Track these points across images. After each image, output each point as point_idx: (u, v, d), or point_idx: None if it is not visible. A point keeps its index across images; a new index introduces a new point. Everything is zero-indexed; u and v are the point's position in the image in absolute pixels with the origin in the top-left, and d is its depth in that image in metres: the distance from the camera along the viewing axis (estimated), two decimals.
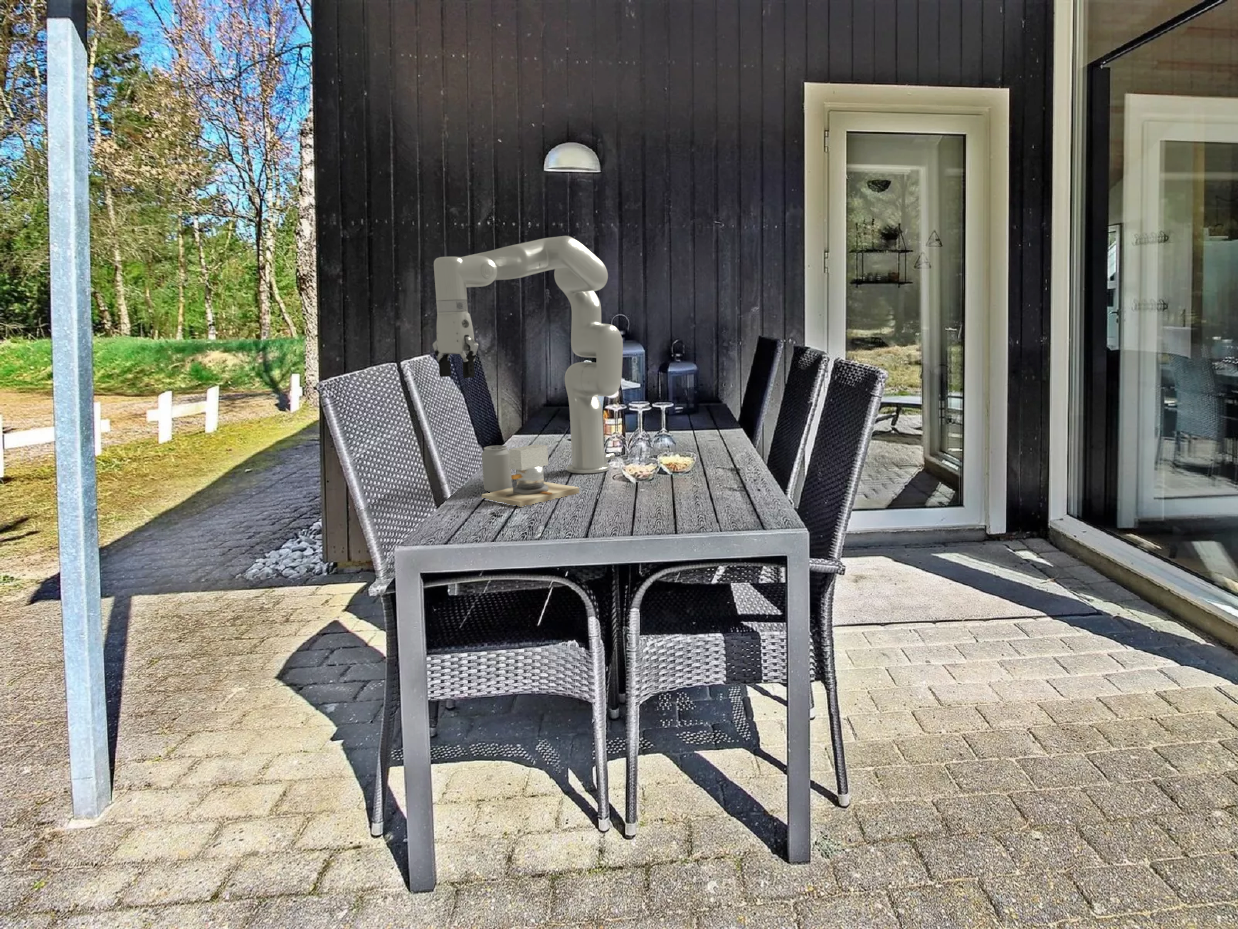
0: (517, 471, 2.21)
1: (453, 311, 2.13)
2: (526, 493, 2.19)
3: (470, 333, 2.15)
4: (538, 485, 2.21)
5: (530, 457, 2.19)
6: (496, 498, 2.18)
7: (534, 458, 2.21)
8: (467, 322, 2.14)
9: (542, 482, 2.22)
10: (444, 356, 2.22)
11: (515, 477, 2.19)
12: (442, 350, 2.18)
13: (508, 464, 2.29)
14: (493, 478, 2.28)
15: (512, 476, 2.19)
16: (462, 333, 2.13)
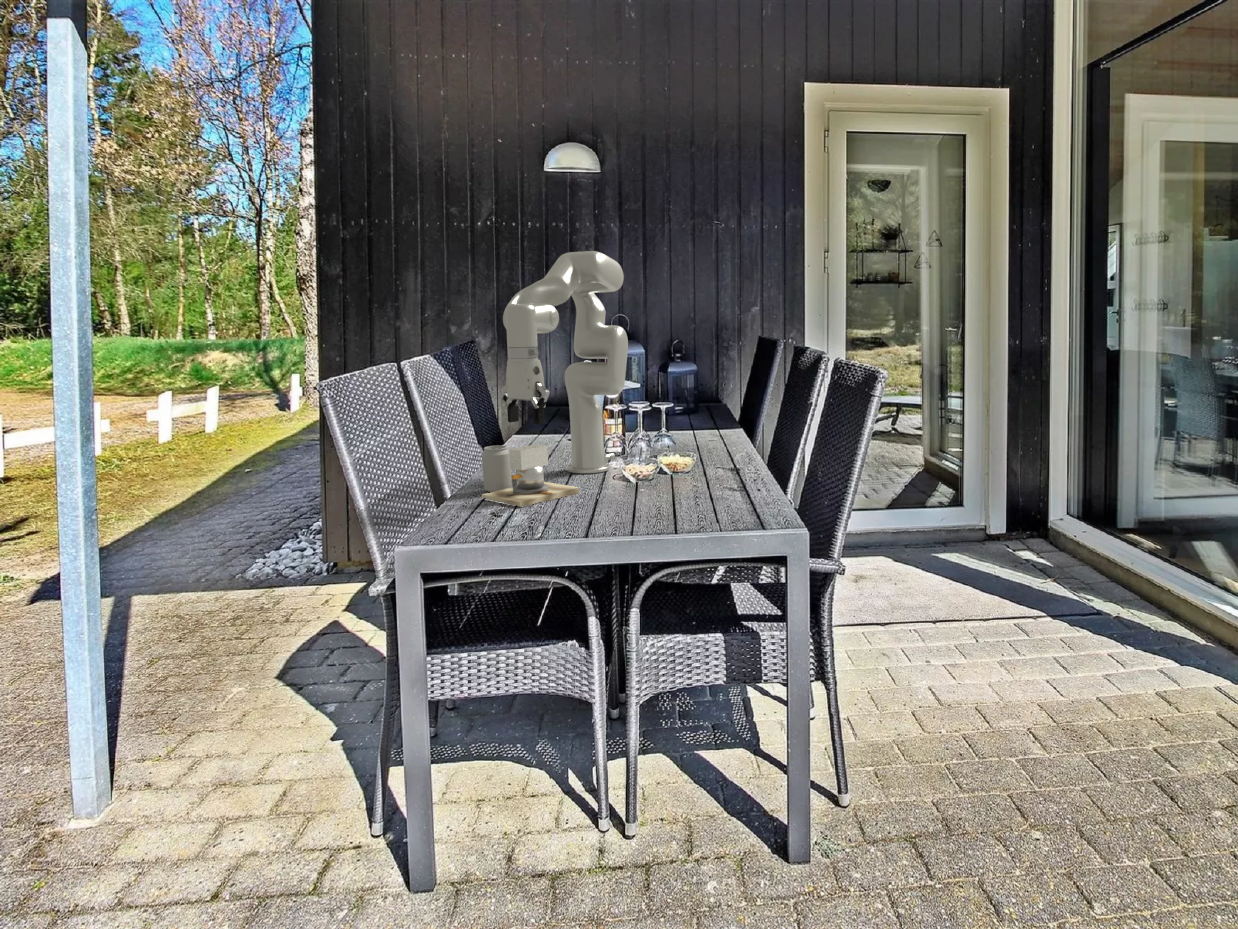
0: (517, 471, 2.21)
1: (525, 358, 2.14)
2: (526, 493, 2.19)
3: (541, 380, 2.16)
4: (538, 485, 2.21)
5: (530, 457, 2.19)
6: (496, 498, 2.18)
7: (534, 458, 2.21)
8: (538, 369, 2.16)
9: (542, 482, 2.22)
10: (512, 401, 2.23)
11: (515, 477, 2.19)
12: (512, 396, 2.19)
13: (508, 464, 2.29)
14: (493, 478, 2.28)
15: (512, 476, 2.19)
16: (533, 380, 2.14)
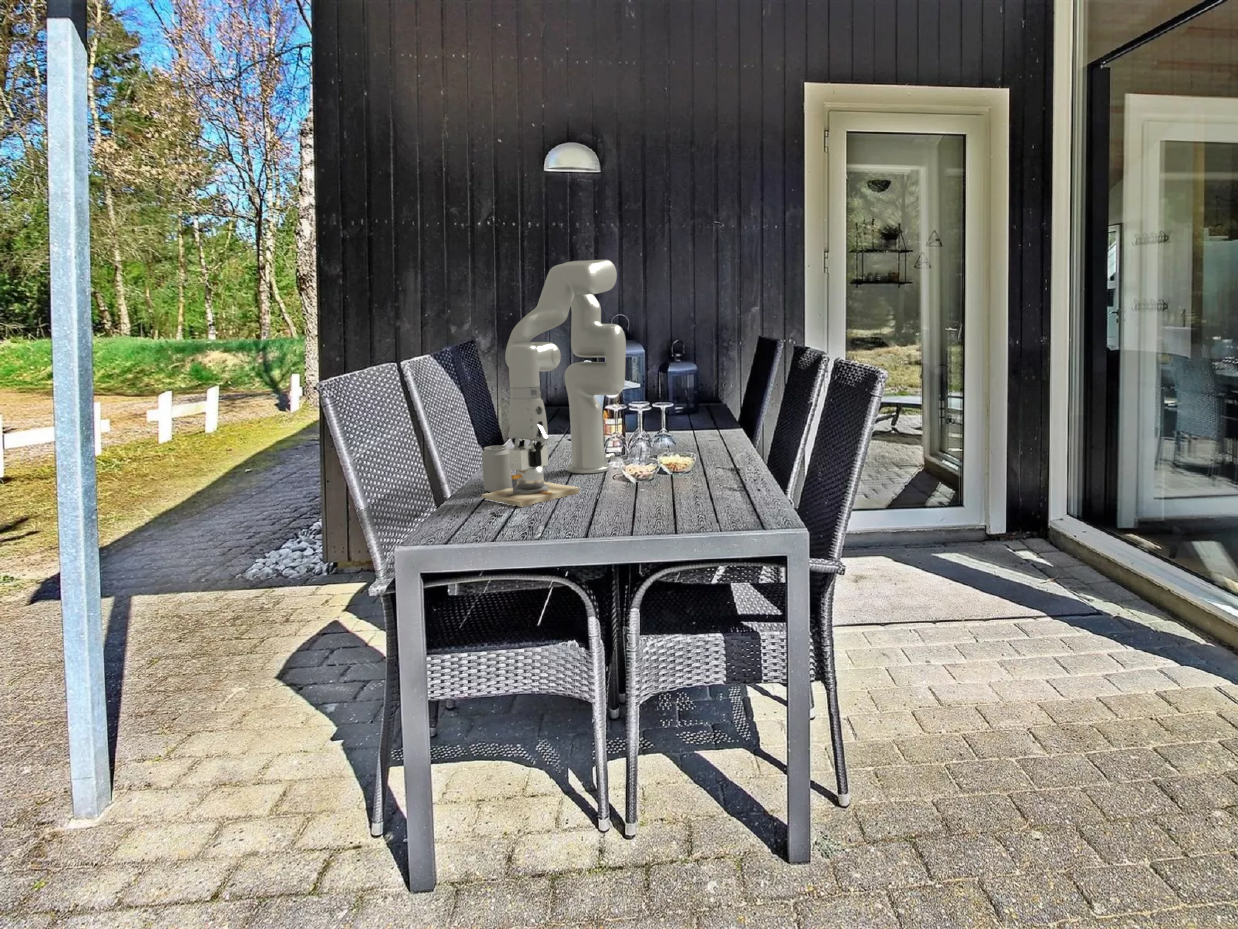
0: (517, 471, 2.21)
1: (527, 398, 2.16)
2: (526, 493, 2.19)
3: (543, 419, 2.18)
4: (538, 485, 2.21)
5: None
6: (496, 498, 2.18)
7: None
8: (540, 408, 2.18)
9: (542, 482, 2.22)
10: (521, 444, 2.24)
11: (515, 477, 2.19)
12: (515, 435, 2.21)
13: (508, 464, 2.29)
14: (493, 478, 2.28)
15: (512, 476, 2.19)
16: (536, 420, 2.16)
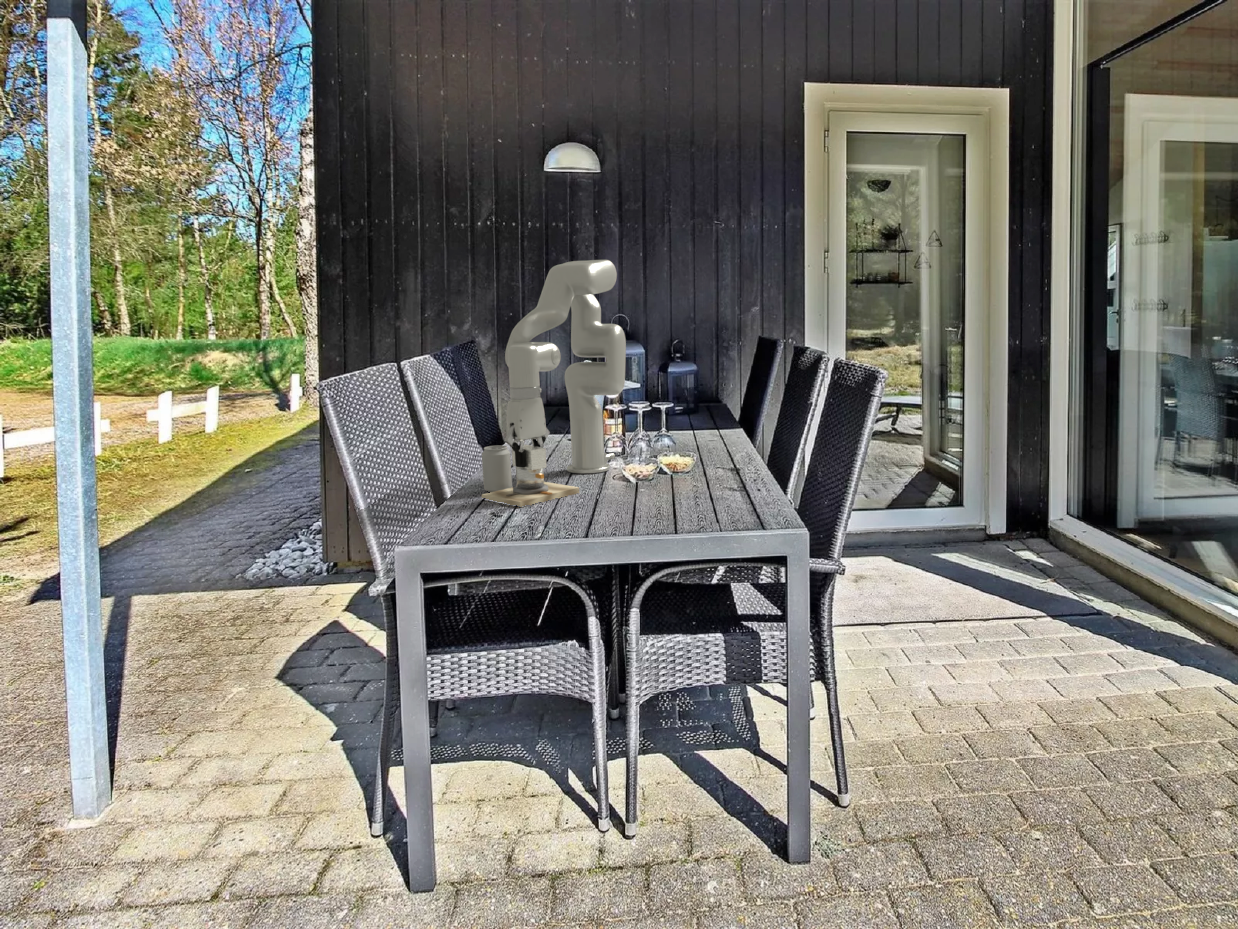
0: (534, 471, 2.20)
1: None
2: (526, 493, 2.19)
3: None
4: None
5: None
6: (496, 498, 2.18)
7: None
8: None
9: None
10: None
11: None
12: (526, 436, 2.18)
13: (508, 464, 2.29)
14: (493, 478, 2.28)
15: (542, 475, 2.18)
16: None
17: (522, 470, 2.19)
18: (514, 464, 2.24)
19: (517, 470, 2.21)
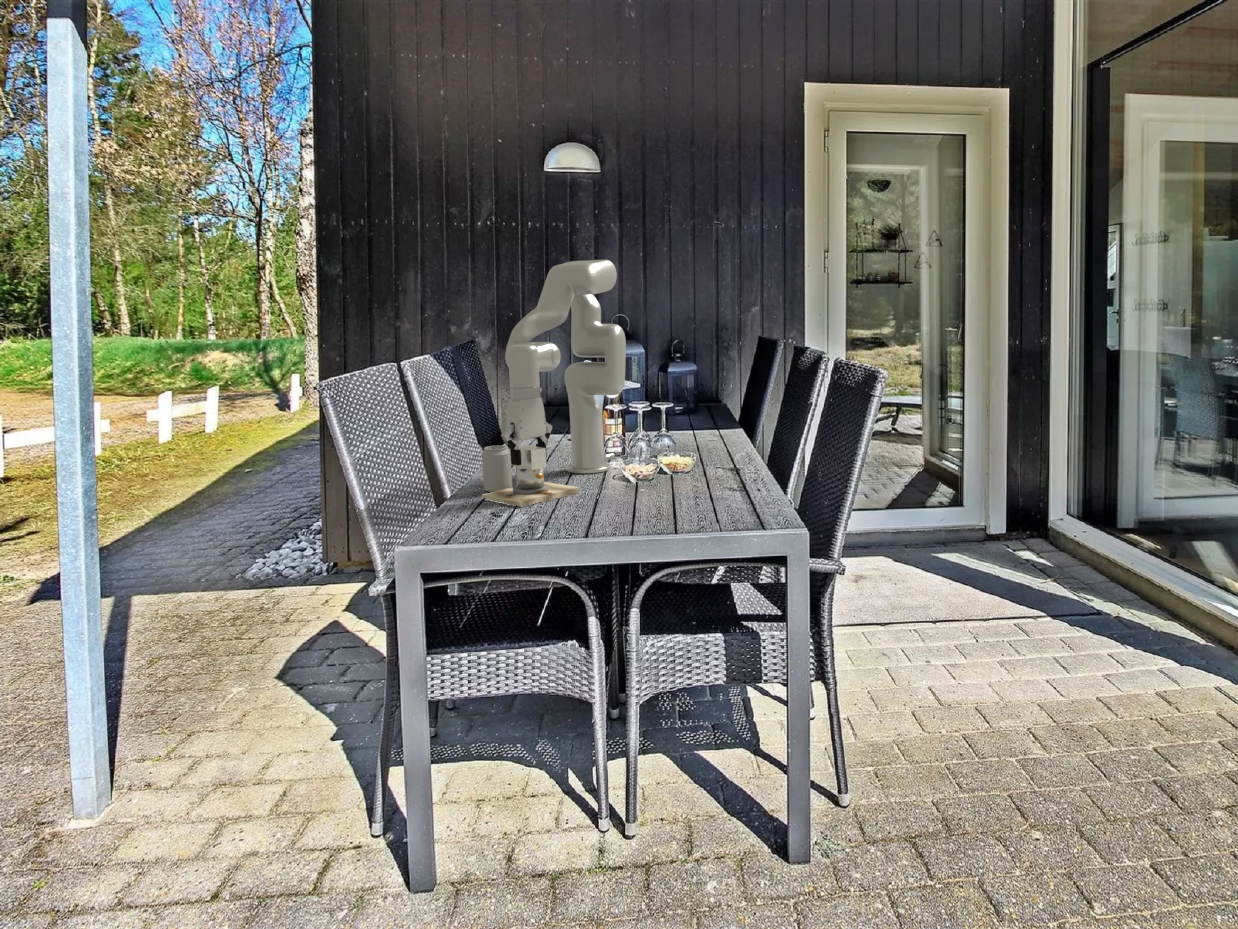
0: (534, 471, 2.20)
1: None
2: (526, 493, 2.19)
3: None
4: None
5: None
6: (496, 498, 2.18)
7: None
8: None
9: None
10: None
11: None
12: (526, 436, 2.18)
13: (508, 464, 2.29)
14: (493, 478, 2.28)
15: (542, 475, 2.18)
16: None
17: (522, 470, 2.19)
18: None
19: (517, 470, 2.21)
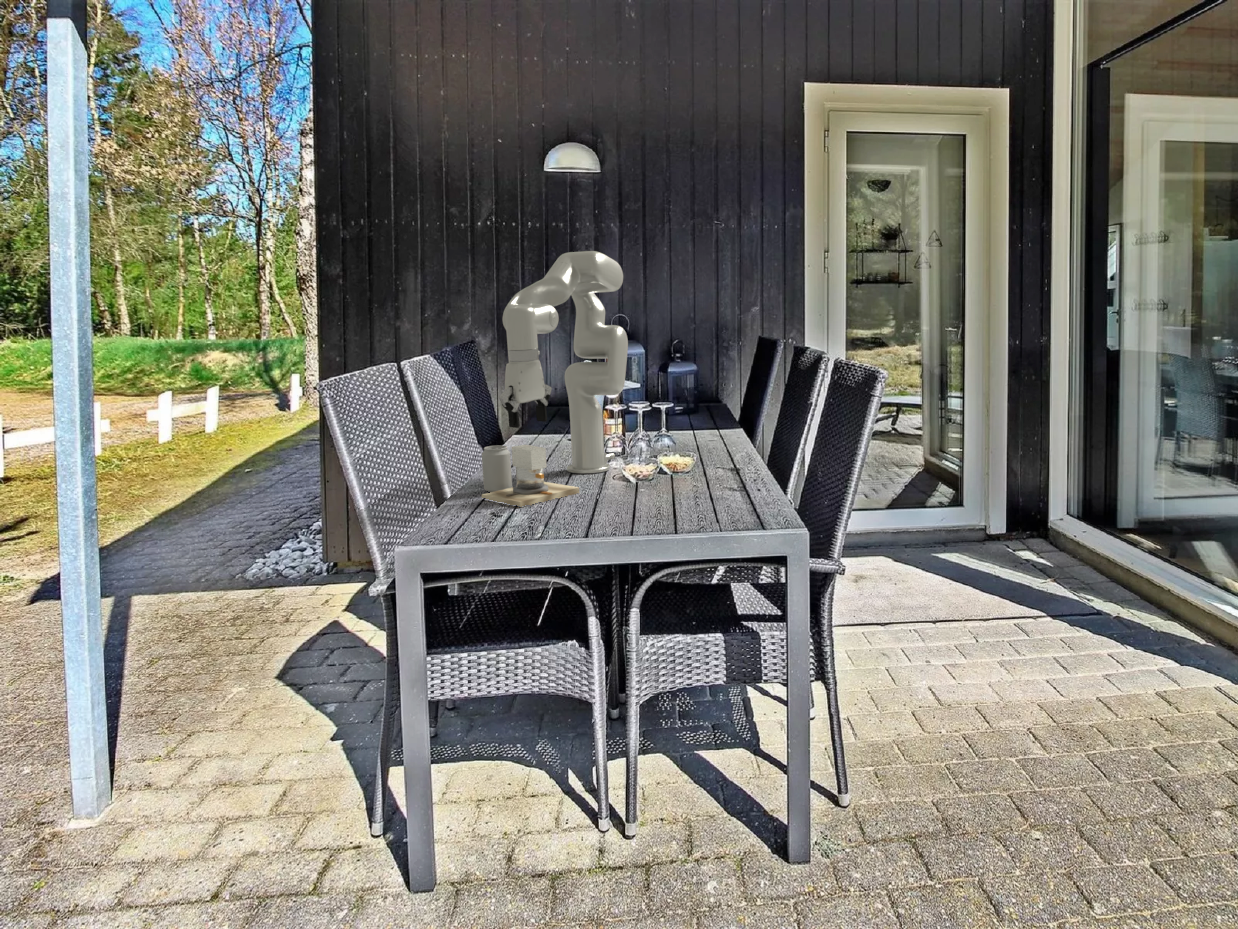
0: (534, 471, 2.20)
1: None
2: (526, 493, 2.19)
3: None
4: None
5: None
6: (496, 498, 2.18)
7: None
8: None
9: None
10: None
11: None
12: (525, 399, 2.17)
13: (508, 464, 2.29)
14: (493, 478, 2.28)
15: (542, 475, 2.18)
16: None
17: (522, 470, 2.19)
18: (514, 464, 2.24)
19: (517, 470, 2.21)
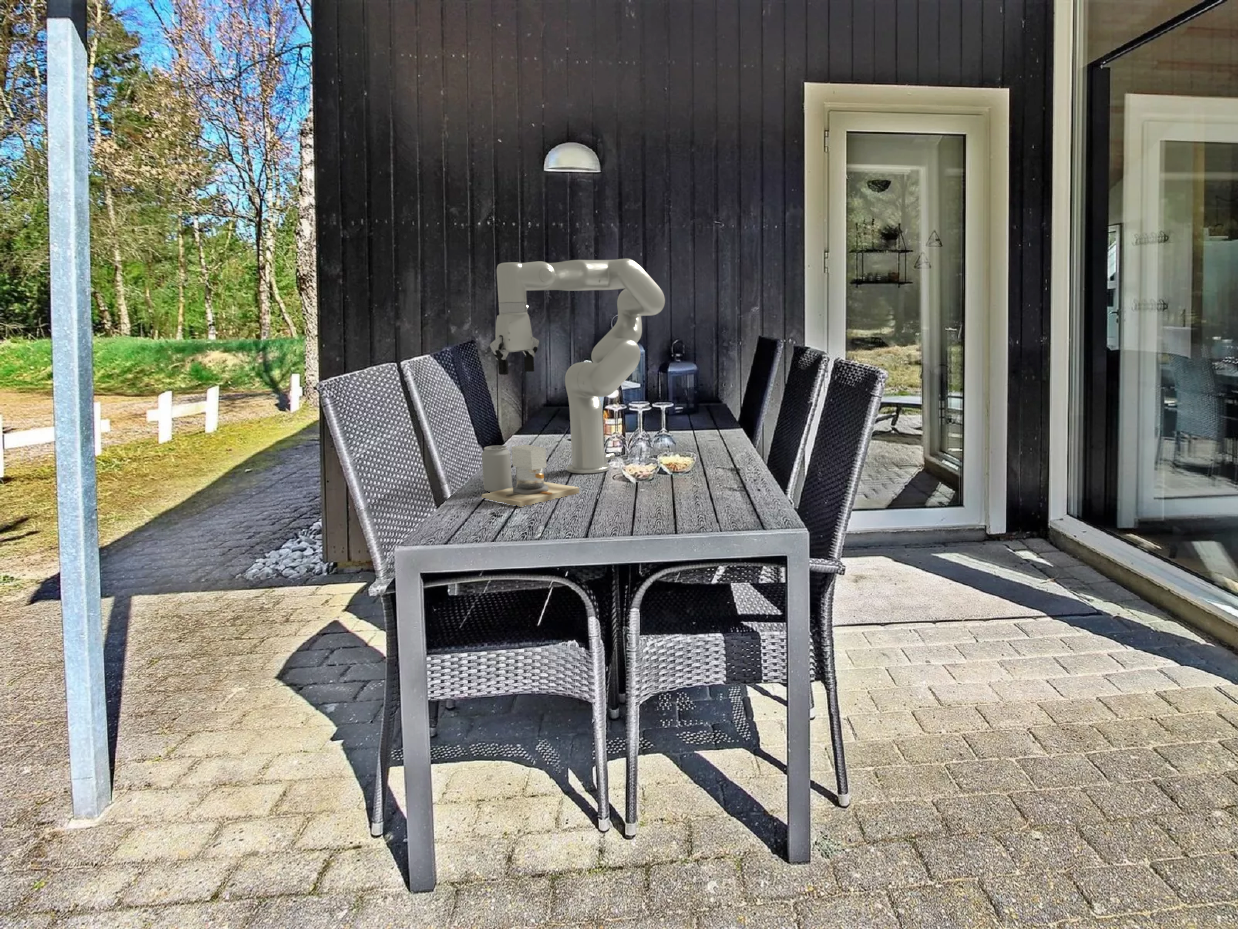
0: (534, 471, 2.20)
1: None
2: (526, 493, 2.19)
3: None
4: None
5: None
6: (496, 498, 2.18)
7: None
8: None
9: None
10: None
11: None
12: (514, 348, 2.34)
13: (508, 464, 2.29)
14: (493, 478, 2.28)
15: (542, 475, 2.18)
16: None
17: (522, 470, 2.19)
18: (514, 464, 2.24)
19: (517, 470, 2.21)
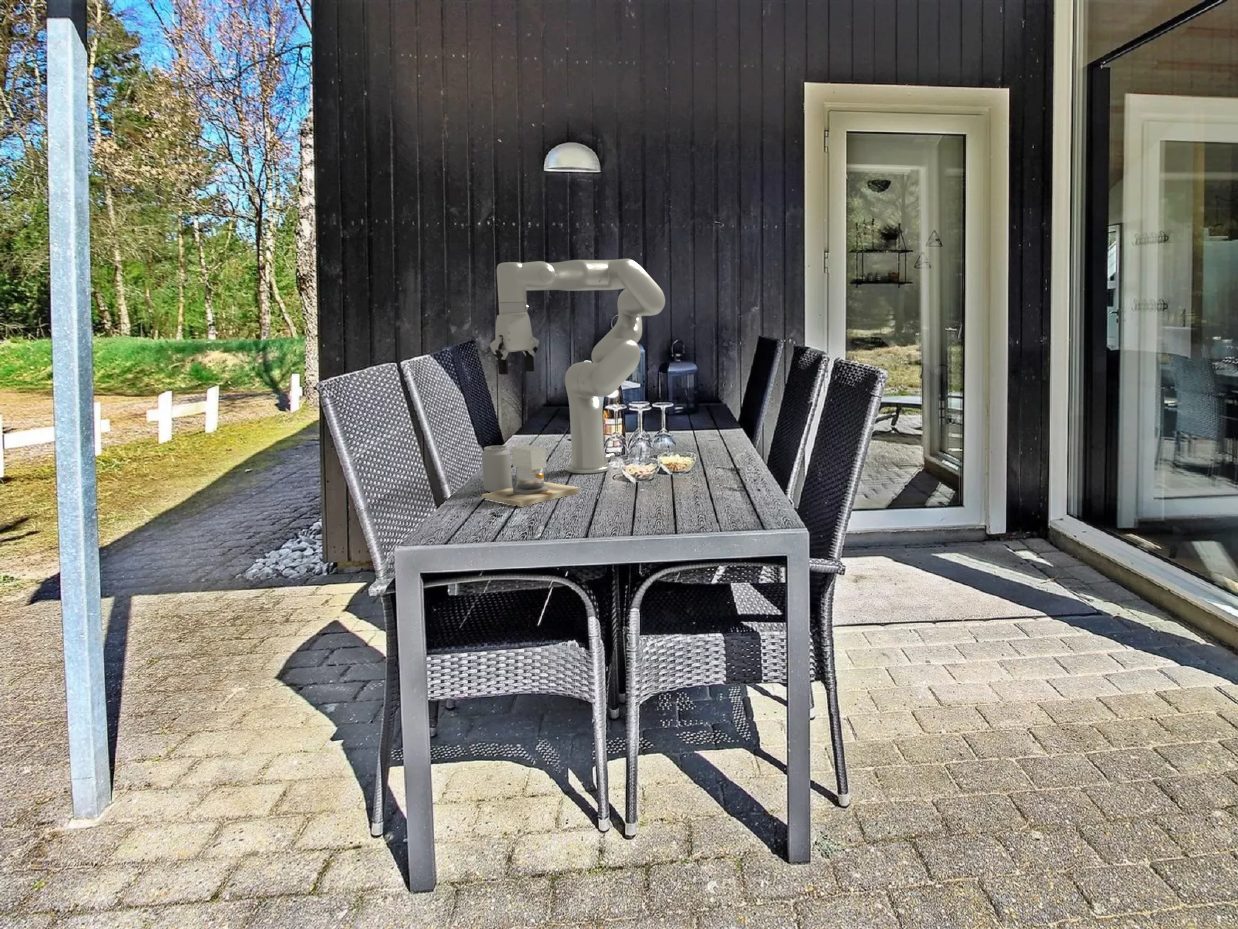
0: (534, 471, 2.20)
1: None
2: (526, 493, 2.19)
3: None
4: None
5: None
6: (496, 498, 2.18)
7: None
8: None
9: None
10: None
11: None
12: (513, 348, 2.34)
13: (508, 464, 2.29)
14: (493, 478, 2.28)
15: (542, 475, 2.18)
16: None
17: (522, 470, 2.19)
18: (514, 464, 2.24)
19: (517, 470, 2.21)
